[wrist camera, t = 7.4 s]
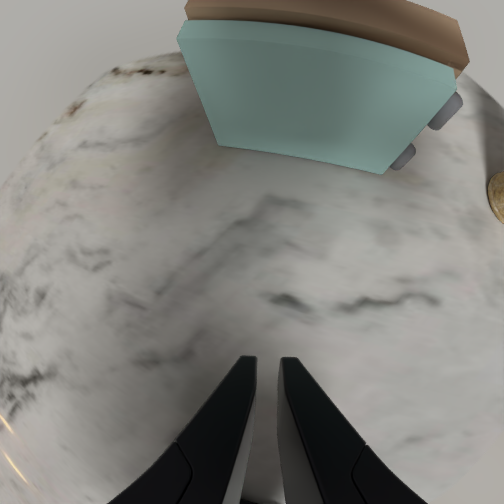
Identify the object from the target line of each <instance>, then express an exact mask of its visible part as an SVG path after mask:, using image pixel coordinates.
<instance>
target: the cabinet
mask: <svg viewBox="0 0 504 504" xmlns="http://www.w3.org/2000/svg"><path fill="white" fill-rule="evenodd" d="M184 9H185V11H186V14H187V17H188V20H233V21H252V22H265V23H276V24H285V25H293V26H300V27H307V28H313V29H319V30H325V31H330V32H335V33H340V34H345V35H349V36H354V37H358V38H362V39H366V40H370V41H374V42H377V43H381V44H385V45H388V46H392V47H395V48H398V49H401V50H404V51H408V52H411V53H414V54H416V55H419V56H422V57H425V58H428V59H430V60H433V61H436V62H438V63H441V64H443V65H446V66H448V67H451V68H453V70H454V75H455V80H456V79H457V77H458V76H459V75H460V74H461V72H462V71H463V70H464V68H465V67H466V66H467V65H468V63H469V62H470V61H469V58H468V54H467V50H466V47H465V43H464V41H463V37H462V34H461V30H460V27H459V25H458V22H457V20H455V19H453V18H451V17H448V16H446V15H444V14H441V13H439V12H436V11H434V10H431V9H429V8H426V7H423V6H421V5H418V4H415V3H412V2H409V1H406V0H188V2H187V4H186V6H185V8H184Z"/></svg>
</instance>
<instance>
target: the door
mask: <svg viewBox="0 0 504 504" xmlns="http://www.w3.org/2000/svg"><path fill="white" fill-rule="evenodd" d="M177 42H178V44H179V47H180V49H181V52H182V54H183V57H184V59H185V62H186V64H187V67H188V69H189V72H190V74H191V77H192V79H193V82H194V84H195V87H196V90H197V92H198V95H199V97H200V100H201V102H202V105H203V107H204V110H205V112H206V115H207V118H208V120H209V123H210V125H211V128H212V130H213V133H214V135H215V138H216V141H217V143H218V145H219V146H228V147H235V148H243V149H250V150H257V151H264V152H270V153H276V154H283V155H288V156H294V157H300V158H305V159H311V160H316V161H321V162H326V163H331V164H336V165H341V166H345V167H350V168H355V169H359V170H363V171H368V172H372V173H376V174H380V175H382V174H383V173H384V172H385V171H386V170H387V169H388V167H389V166H390V167H391V168H392V169H394V170H400V169H401V168H402V167H403V166H404V165H405V164H406V163H407V162H408V161H409V160H410V159H411V158H412V157H413V156H414V155H415V153H416V149H415V147H414V145H413V144H412V143H411V142H412V141H413V140H414V139H415V137H416V136H417V135H418V134H419V133H420V132H421V131H422V130H423V128H424V127H425V126H426V125H428V126H429V127H430V128H431V129H433V130H439V129H441V128H442V127H443V126H444V124H445V123H446V122H447V121H448V120H449V119H450V118H451V117H452V116H453V115H454V114H455V113H456V112H457V111H458V110H459V109H460V108H461V107H462V105H463V101H462V98H461V97H460V95H459V94H458V93H457V92H455V91H456V90H457V86H456V80H455V75H454V70H453V68H451V67H448V66H446V65H443V64H441V63H438V62H436V61H433V60H430V59H428V58H425V57H422V56H419V55H416V54H414V53H411V52H408V51H404V50H401V49H398V48H395V47H392V46H388V45H385V44H381V43H377V42H374V41H370V40H366V39H362V38H358V37H354V36H349V35H345V34H340V33H335V32H330V31H325V30H319V29H313V28H307V27H300V26H293V25H285V24H276V23H265V22H252V21H233V20H186V21H185V22H184V24H183V26H182V28H181V30H180V32H179V34H178V36H177Z"/></svg>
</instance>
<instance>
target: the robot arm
mask: <svg viewBox="0 0 504 504" xmlns="http://www.w3.org/2000/svg"><path fill="white" fill-rule="evenodd" d="M256 384H257V357H256V356H246V355H242V356H240V358H239V359H238V360H237V362H236V363H235V364H234V365H233V367H232V368H231V369H230V371H229V372H228V373H227V375H226V376H225V377H224V379H223V380H222V381H221V382H220V384H219V385H218V386H217V388H216V389H215V390H214V391H213V393H212V394H211V395H210V396H209V398H208V399H207V400H206V402H205V403H204V404H203V405H202V407H201V408H200V409H199V410H198V412H197V413H196V414H195V415H194V417H193V418H192V419H191V420H190V421H189V423H188V424H187V425H186V426H185V428H184V429H183V430H182V431H181V433H180V434H179V435H178V436H177V437H176V439H175V441H173V442H172V443H171V444H170V446H169V447H168V448H167V449H166V450H165V452H164V453H163V454H162V455H161V456H160V457H159V458H158V459H157V460H156V461H155V462H154V464H153V465H152V466H151V467H150V468H149V469H148V470H146V471H145V472H144V473H143V474H142V475H141V476H140V477H139V478H138V479H137V480H136V481H134V482H133V483H132V484H131V485H130V486H128V487H127V488H126V489H125V490H124V491H122V492H121V493H120V494H119V495H117V496H116V497H115V498H114V499H113V500H111V501H110V502H109V503H108V504H256V503H253V502H249V501H246V500H242V499H240V497H241V493H242V488H243V483H244V478H245V474H246V469H247V464H248V459H249V454H250V449H251V444H252V438H253V430H254V415H255V400H256ZM277 436H278V446H279V454H280V462H281V469H282V477H283V485H284V493H285V501H286V504H428V503H426V502H425V501H424V500H423V499H422V498H420V497H419V496H418V495H417V494H416V493H415V492H414V491H412V490H411V489H410V488H409V487H408V486H407V485H406V484H404V483H403V482H402V481H401V480H400V479H399V478H398V477H397V476H396V475H395V474H394V473H393V472H392V471H391V470H390V469H389V468H388V467H387V466H386V465H385V464H384V463H383V462H382V461H381V460H380V458H379V457H378V456H377V455H376V454H375V453H374V452H373V450H372V449H371V448H370V447H369V445H366V442H365V441H364V440H363V438H362V437H361V436H360V435H359V434H358V432H357V431H356V430H355V429H354V428H353V426H352V425H351V424H350V423H349V421H348V420H347V419H346V418H345V417H344V415H343V414H342V413H341V412H340V410H339V409H338V408H337V407H336V406H335V404H334V403H333V402H332V401H331V399H330V398H329V397H328V396H327V394H326V393H325V392H324V391H323V389H322V388H321V387H320V386H319V384H318V383H317V382H316V381H315V379H314V378H313V377H312V376H311V374H310V373H309V372H308V371H307V369H306V368H305V367H304V366H303V364H302V363H301V362H300V361H299V359H298V358H296V357H282V358H281V360H280V368H279V376H278V406H277Z"/></svg>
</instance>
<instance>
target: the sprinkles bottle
mask: <svg viewBox="0 0 504 504" xmlns="http://www.w3.org/2000/svg"><path fill="white" fill-rule="evenodd" d="M488 196H489V201H490V205H491V208H492V210H493V212H494V214H495V215H496V216H497V218H498V219H499V221H501V222H502V223H503V224H504V171H503V172H501V173H497V174H495V175H494V176H493V177H492V178H491V180H490V182H489V185H488Z"/></svg>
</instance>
